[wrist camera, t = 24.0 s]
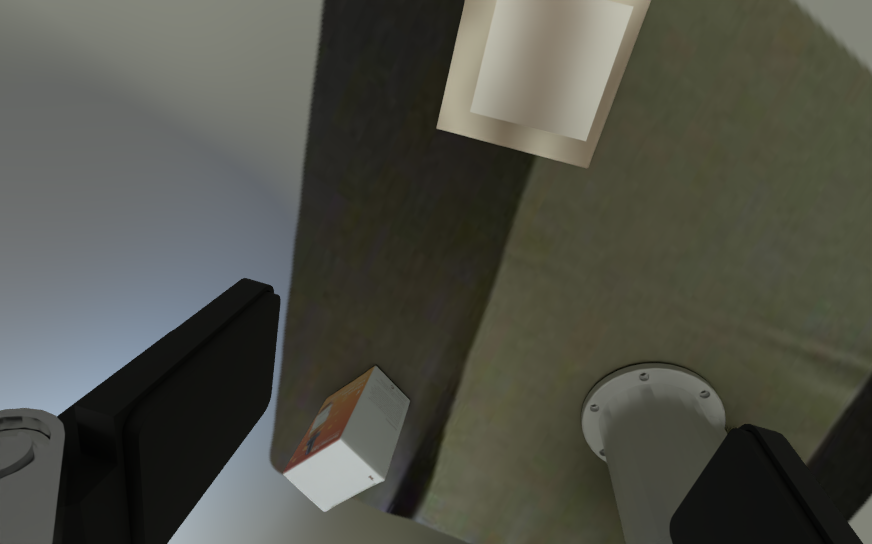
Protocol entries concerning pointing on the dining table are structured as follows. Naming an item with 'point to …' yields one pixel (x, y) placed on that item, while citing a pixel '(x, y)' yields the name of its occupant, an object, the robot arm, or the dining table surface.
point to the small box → (349, 441)
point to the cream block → (549, 62)
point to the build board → (510, 134)
